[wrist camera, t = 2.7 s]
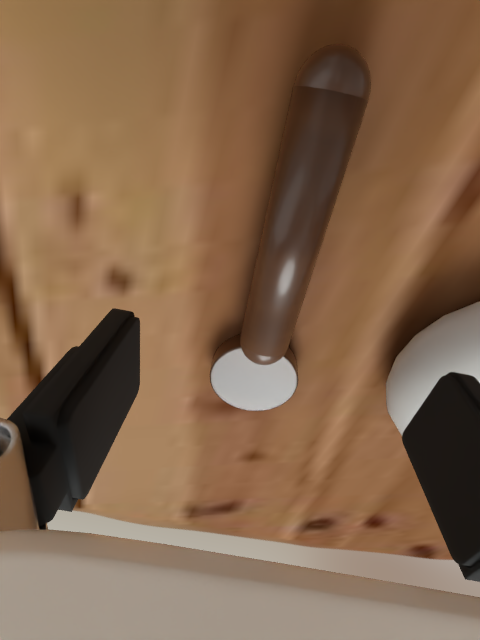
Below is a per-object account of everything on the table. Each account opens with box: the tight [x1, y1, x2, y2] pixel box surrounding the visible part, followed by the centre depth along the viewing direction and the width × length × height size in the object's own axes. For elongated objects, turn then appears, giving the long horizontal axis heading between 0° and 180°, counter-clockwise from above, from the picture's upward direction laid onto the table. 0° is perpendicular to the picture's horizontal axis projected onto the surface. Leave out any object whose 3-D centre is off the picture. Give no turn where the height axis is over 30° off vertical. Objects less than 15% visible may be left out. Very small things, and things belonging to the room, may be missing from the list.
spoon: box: [210, 44, 371, 411], centre depth 14 cm, size 16×5×2 cm, turn 170°
